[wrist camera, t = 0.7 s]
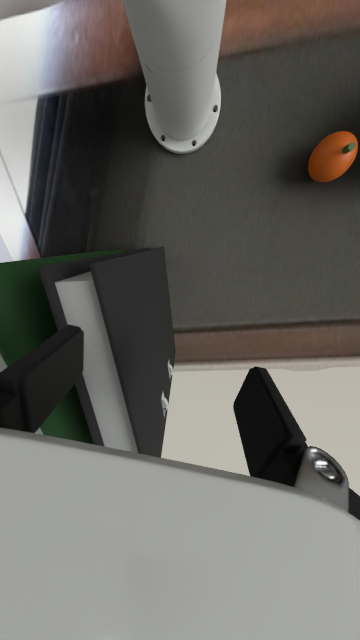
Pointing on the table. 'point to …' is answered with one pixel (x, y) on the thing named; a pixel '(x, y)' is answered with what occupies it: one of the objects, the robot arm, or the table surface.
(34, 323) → the green and black books
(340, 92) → the table surface
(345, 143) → the orange
